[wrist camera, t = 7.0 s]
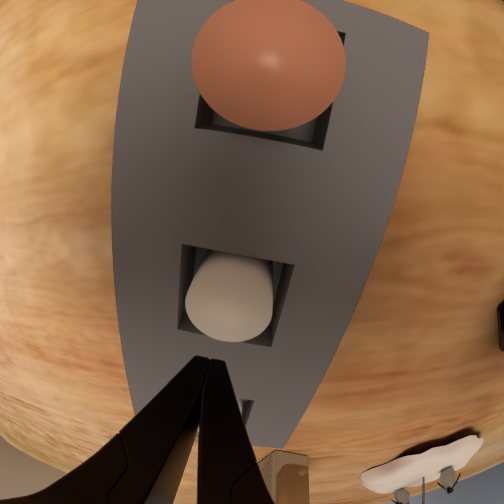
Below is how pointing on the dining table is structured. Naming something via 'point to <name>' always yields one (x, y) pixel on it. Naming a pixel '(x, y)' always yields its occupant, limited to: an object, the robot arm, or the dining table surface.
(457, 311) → the dining table surface
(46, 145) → the dining table surface
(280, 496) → the skincare box
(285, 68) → the terracotta button
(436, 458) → the figurine
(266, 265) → the button
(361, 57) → the button panel
